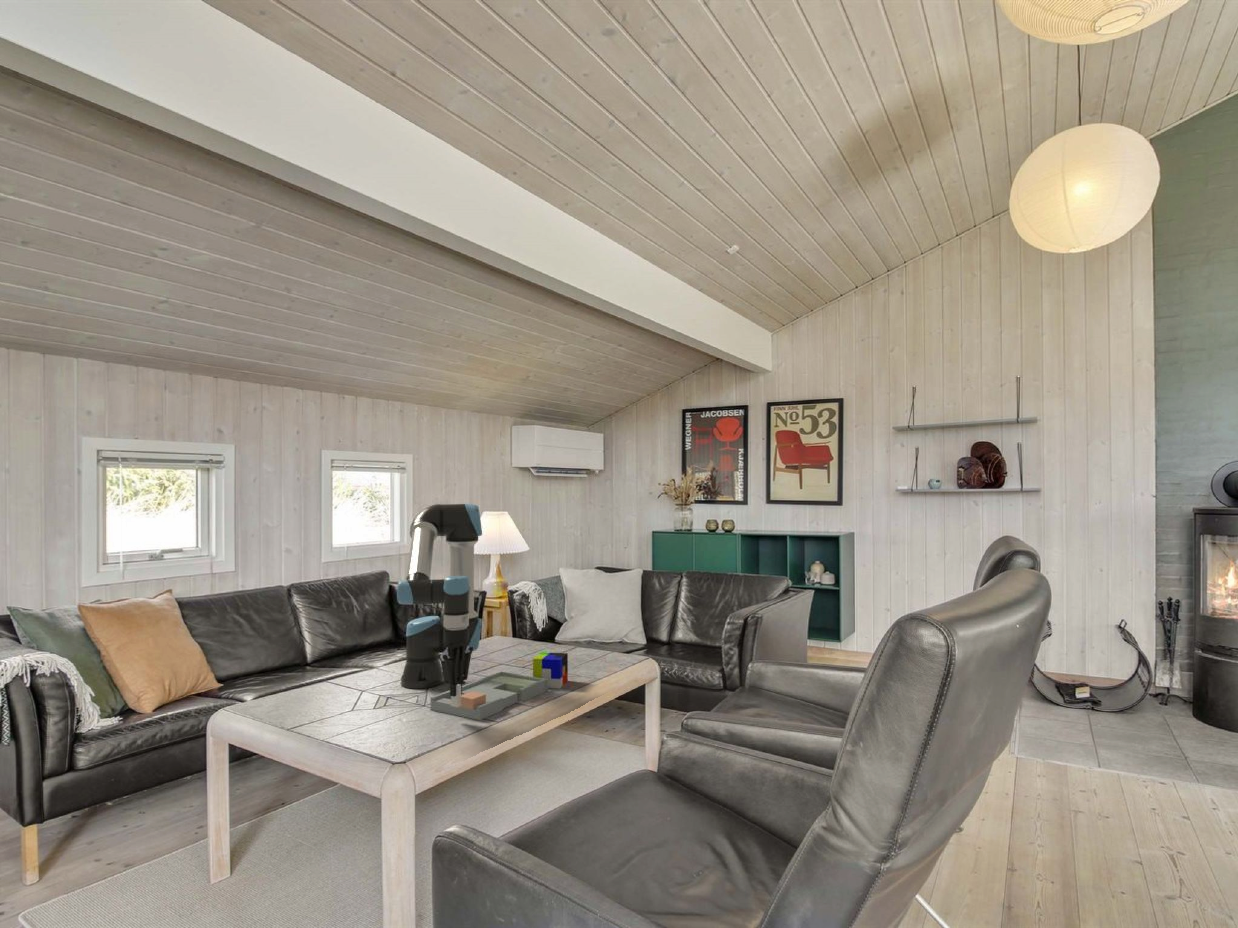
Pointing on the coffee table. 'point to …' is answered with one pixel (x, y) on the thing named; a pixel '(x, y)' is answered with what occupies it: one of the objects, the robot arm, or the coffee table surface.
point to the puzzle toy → (551, 668)
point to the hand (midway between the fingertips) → (455, 705)
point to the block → (472, 699)
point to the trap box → (492, 694)
